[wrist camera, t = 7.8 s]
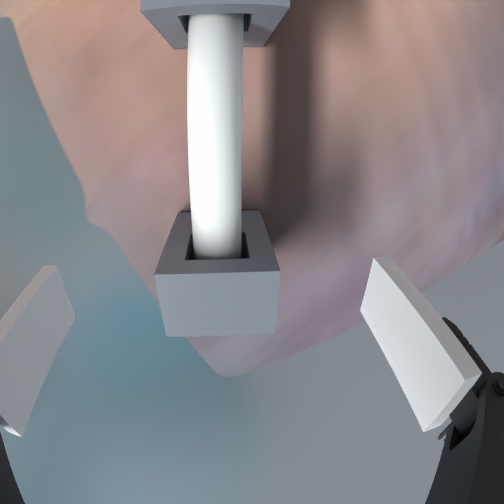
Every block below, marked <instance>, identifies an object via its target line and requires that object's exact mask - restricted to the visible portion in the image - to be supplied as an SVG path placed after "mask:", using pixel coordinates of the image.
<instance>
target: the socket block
mask: <svg viewBox="0 0 504 504" xmlns="http://www.w3.org/2000/svg"><path fill="white" fill-rule="evenodd" d="M241 257H242V259H214V260H195V258H194V246H193V233H192V218H191V212H178V214H177V217H176V219H175V222H174V224H173V227H172V229H171V232H170V234H169V237H168V239H167V242H166V244H165V247H164V250H163V252H162V255H161V257H160V260H159V263H158V266H157V268H156V271H155V274H154V276H155V282H156V287H157V293H158V298H159V303H160V308H161V312H162V318H163V322H164V327H165V331H166V336H227V335H252V334H269V333H275V332H276V321H277V309H278V296H279V284H280V268H279V265H278V262H277V259H276V256H275V253H274V250H273V247H272V245H271V242H270V239H269V236H268V233H267V230H266V227H265V224H264V221H263V218H262V215H261V212H260V210H244V211H241Z"/></svg>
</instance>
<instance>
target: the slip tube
mask: <svg viewBox="0 0 504 504" xmlns="http://www.w3.org/2000/svg"><path fill="white" fill-rule="evenodd" d="M243 29H244V13H217V14H195V15H189V29H188V63H187V125H188V161H189V184H190V202H191V218H192V233H193V246H194V258H195V260H214V259H242V257H241V210H242V85H243Z"/></svg>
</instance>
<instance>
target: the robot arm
mask: <svg viewBox="0 0 504 504" xmlns="http://www.w3.org/2000/svg"><path fill="white" fill-rule="evenodd" d="M360 311H361V313H362V315H363V317H364V318H365V320H366V322H367V324H368V325H369V327H370V329H371V331H372V333H373V334H374V336H375V338H376V340H377V342H378V343H379V345H380V347H381V349H382V351H383V352H384V354H385V356H386V358H387V360H388V362H389V364H390V366H391V368H392V369H393V371H394V373H395V375H396V377H397V379H398V381H399V383H400V385H401V387H402V389H403V391H404V393H405V395H406V397H407V399H408V401H409V403H410V405H411V407H412V409H413V411H414V413H415V415H416V417H417V419H418V421H419V424H420V426H421V428H422V430H423V432H425V431H428V430H430V429H433V428H435V427H438V426H440V425H441V424H442V423H443V422H444V421H445V420H446V419H447V417H448V416H450V418H451V419H452V422H451V423H450V424H449V425H448V426H447V428H445V430H444V431H443V432H442V433H441V434H440V435H439V437H438V439H439V440H440V439H441V438H442V437H443V436H444V435H445V434H446V433H447V435H446V438H445V439H444V441H445V443H444V447H443V451H442V455H441V458H440V462H439V465H438V468H437V472H436V475H435V478H434V481H433V484H432V487H431V489H430V492H429V495H428V498H427V500H426V503H425V504H504V374H503V373H500V372H495V373H491V371H490V370H489V369H488V367H487V366H486V365H485V363H484V362H483V360H482V359H481V358H480V357H479V355H478V354H477V352H476V351H475V350H474V348H473V347H472V346H471V344H470V345H469V342H468V341H467V339H466V338H465V337H463V334H462V333H461V331H460V330H459V329H458V328H457V326H456V325H455V324H453V323H452V322H451V321H449V320H448V319H447V318H445V317H444V318H441V317H440V316H439V315H438V313H437V312H436V311H435V309H434V308H433V307H432V306H431V305H430V303H429V302H428V301H427V300H426V299H425V297H424V296H423V295H422V294H421V293H420V292H419V290H418V289H417V288H416V287H415V286H414V285H413V283H412V282H411V281H410V280H409V279H408V278H407V277H406V275H405V274H404V273H403V272H402V271H401V270H400V269H399V268H398V267H397V265H396V264H395V263H394V262H393V261H392V260H391V259H390V258H389V257H378V258H373V262H372V267H371V271H370V275H369V279H368V283H367V287H366V291H365V295H364V298H363V302H362V306H361V309H360ZM74 319H75V315H74V313H73V310H72V307H71V305H70V302H69V299H68V297H67V294H66V291H65V288H64V285H63V283H62V279H61V277H60V273H59V270H58V267H57V266H44V267H43V268H42V269H41V270H40V271H39V272H38V274H37V275H36V276H35V277H34V278H33V279H32V281H31V282H30V283H29V284H28V286H27V287H26V288H25V289H24V291H23V292H22V293H21V294H20V296H19V297H18V298H17V300H16V301H15V302H14V303H13V305H12V306H11V307H10V309H9V310H8V311H7V313H6V314H5V315H4V317H3V318H2V319H1V321H0V424H1V425H2V426H3V427H4V428H5V429H6V430H7V431H8V432H10V433H13V434H15V435H18V436H20V437H22V435H23V433H24V430H25V427H26V424H27V421H28V419H29V416H30V414H31V411H32V408H33V406H34V403H35V401H36V399H37V396H38V394H39V391H40V389H41V387H42V384H43V382H44V380H45V378H46V375H47V373H48V371H49V368H50V367H51V364H52V362H53V360H54V358H55V356H56V354H57V352H58V350H59V348H60V346H61V344H62V342H63V340H64V338H65V336H66V334H67V332H68V330H69V328H70V326H71V325H72V323H73V321H74ZM0 504H25V503H24V501H23V498H22V496H21V494H20V491H19V488H18V486H17V483H16V481H15V478H14V475H13V472H12V469H11V467H10V463H9V460H8V457H7V454H6V450H5V447H4V443H3V440H2V436H1V433H0Z"/></svg>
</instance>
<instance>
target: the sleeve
mask: <svg viewBox="0 0 504 504" xmlns="http://www.w3.org/2000/svg"><path fill="white" fill-rule="evenodd" d="M289 8H290V0H141V10H140V12H141V13H142V14H143V15H144V16H145V17H146V18H147V19H148V20H149V21H150V23H151V24H152V25H153V26H154V27H155V28H156V29H157V30H158V32H159V33H160V34H161V35H162V36H163V37H164V38H165V40H166V41H167V42H168V43H169V44H170V45H171V47H172V48H173V49H182V48H188V29H189V15H195V14H217V13H244V29H243V46H244V47H264V45H265V43H266V42H267V40H268V39H269V37H270V36H271V34H272V33H273V31H274V30H275V28H276V27H277V25H278V24H279V22H280V21H281V19H282V18H283V16H284V15H285V14H286V12H287V11H288V9H289Z"/></svg>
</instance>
